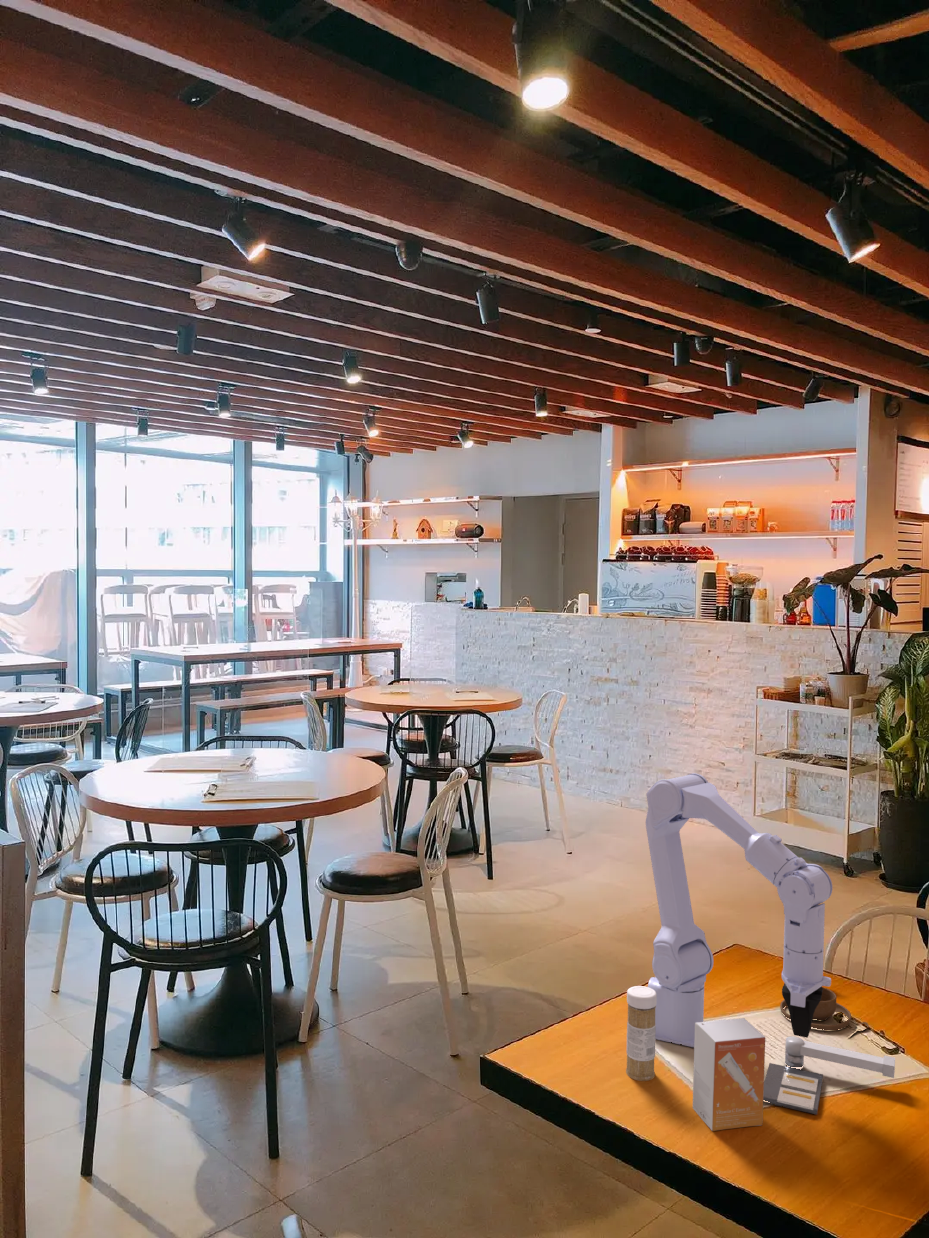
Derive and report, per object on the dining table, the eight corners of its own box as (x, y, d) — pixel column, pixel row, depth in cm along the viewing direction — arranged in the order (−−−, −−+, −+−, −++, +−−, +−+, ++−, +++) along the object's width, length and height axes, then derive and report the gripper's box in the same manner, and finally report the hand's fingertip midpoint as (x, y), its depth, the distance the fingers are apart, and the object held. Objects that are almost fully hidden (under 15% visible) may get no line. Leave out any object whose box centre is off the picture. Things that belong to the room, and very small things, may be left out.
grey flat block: (759, 1102, 142) (759, 1089, 142) (772, 1056, 156) (772, 1044, 156) (816, 1116, 138) (817, 1102, 138) (824, 1067, 152) (825, 1055, 152)
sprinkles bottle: (642, 1065, 152) (644, 982, 152) (661, 1078, 148) (662, 993, 148) (619, 1071, 150) (621, 987, 150) (637, 1085, 146) (639, 999, 146)
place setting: (752, 1012, 173) (752, 980, 173) (807, 982, 187) (807, 952, 187) (845, 1047, 160) (846, 1013, 160) (897, 1012, 174) (898, 980, 174)
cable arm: (784, 1053, 152) (784, 1042, 152) (786, 1045, 155) (787, 1034, 155) (894, 1077, 145) (894, 1066, 145) (894, 1068, 148) (895, 1057, 148)
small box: (712, 1132, 134) (714, 1041, 133) (691, 1108, 140) (693, 1021, 140) (764, 1126, 136) (766, 1036, 135) (741, 1102, 142) (743, 1016, 141)
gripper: (828, 968, 137) (825, 1061, 137) (834, 935, 150) (832, 1020, 150) (776, 959, 140) (774, 1050, 140) (787, 927, 153) (785, 1011, 153)
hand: (801, 1034), depth 146 cm, fingers closed
